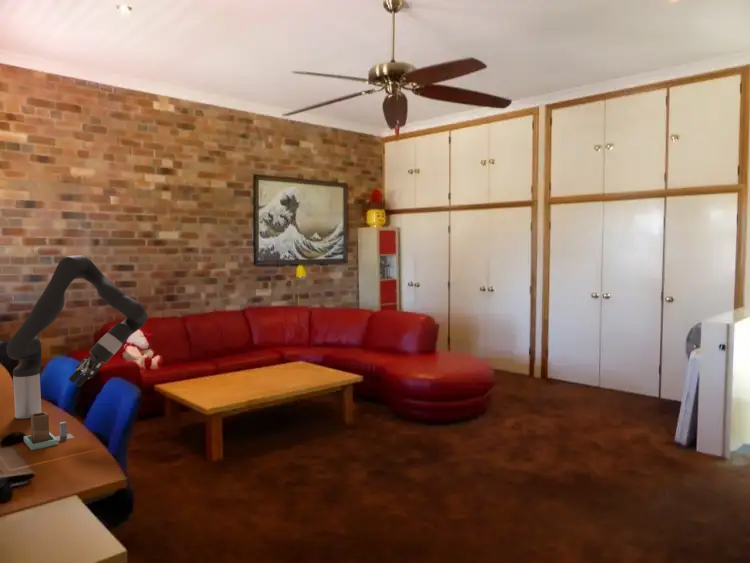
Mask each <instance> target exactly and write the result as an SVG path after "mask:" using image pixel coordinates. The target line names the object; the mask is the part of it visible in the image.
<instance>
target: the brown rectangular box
mask: <svg viewBox="0 0 750 563" xmlns="http://www.w3.org/2000/svg"><path fill="white" fill-rule="evenodd" d="M30 416H31V418H30V432H31V433H30V435H31V438H32V443H33V444H36V443H40V442H45V441H50V438H49V432H50V422H49V419H50V417H49V414H48V413H47V411H41V413H36V414H30Z"/></svg>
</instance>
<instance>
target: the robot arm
mask: <svg viewBox="0 0 750 563" xmlns="http://www.w3.org/2000/svg"><path fill="white" fill-rule="evenodd" d="M79 279H84V280H86V281H87V282H88V283H91V284H92V286H94V288H95V289H96V290H97V293H98V295H99V297H100V298H101V299H102V300H103V302H105V303H106V304H108V305H109V306H110V307H112V308H113V309H114V310H116V311H117V312H118V311H119V312H120V313H121V314H122V315H123V316H124V317H126V318H125V319H123V321H122V322H117V323H115V324H114V325H112V327H111V328H110V329H109V330H108V331H107V332H106V333H105V334H104V335H103V336H102V337H100V338H99V340H98V341H97V342H96V343H95V344H94V345H93V346H92V347H91V348H90V350H89V351H88V353H89V354H90V356H88V355H86V356H84V358H83V359H82V360H81V361H80V362H79V363H78V364H77V365H76V366H75V368H74V369H75V371H74V372H73V373H72V374H71V375H70V377H68V381H69V382H71V383H74V384H75V385H76V386H77V387H79V388H81V387H82V386H83V385H84V383H86V382H87V380H89V379H93V378H94V376H96V374H97V373H98V372H99V371H100V370H101V368H103V367H104V365H103V364H107V363H108V362H109V361H110V360H111V359H112V358H113V357H114V355H115V354H116V353H117V352H118V351H119V350H120V349H121V347H122V346H123V344H124V343H125V342H126V341H127V340H128V339H129V338H130V337H131V335H133V334H134V333H136V332H137V331H138V330H139V329H141V328H142V327H143V326H144V325H145V324H146V322H147V320H148V318H149V317H148V312H147V311H146V308H145V307H144V306H143V305H142V304H141V303H140V302H138V301H137V300H135V299H133V298H132V297H130V296H128V294H126V293H125V292H124V291H123V290H121V289H120V288H119V287H117V286H116V284H114V283H113V282H112V281H110V280H109V278H107V276H105V275H104V274H103V272H102V271H101V270H100V269H99V268H98V267H97V265H96V264H95V263H94V262H93V261H92V260H91V259H90V258H89V257H87V256H85V255H81V254H79V255H67V256H64V257H63V258H61V259H60V261H59V262H58V264H57V266H56V267H55V270H54V272H53V274H52V275H51V278H50V280H49V282H48V284H47V285H46V287H45V288H44V289H43V290H44V291H43V292H42V293H41V295H40V296H39V298H37V301H36V303H35V304H34V305H33V307H32V310H31V311H30V312H29V314H28V315H27V317H26V318H25V320H24V322H23V323H22V324H21V326H20V327H19V328H18V330H17V331H16V332H15V333H14V335H12V337H11V338H10V339H9V341H8V343H7V345H6V354H7V356H8V358H9V359H10V360H15V361H18V360H19V361H20V360H21V361H20V363H19V364H18V365H17V366H16V367H14V368H13V370H12V377H13V378H12V379H13V380H12V382H13V395H14V396H13V398H14V417H15V419H17V420H18V419H19V420H20V419H21V420H22V419H31V416H30V414H36V413H41V412H42V399H41V397H42V396H41V395H42V394H41V393H42V392H41V377H40V376H41V375H40V374H41V373H40V369H41V367H42V342H41V340H40V339H39V337H38V335H39V334H40V333H41V332H42V331H44V330H45V329H47V328H48V327H49V326H50V325H51V324H52V323H54V322H55V321H56V319H57V318H58V316H59V315H60V313H61V312H62V310H63V308H64V306H65V301H66V299H65V294H66V291H67V289H68V287H69V286H70V285H71V283H72V282H73V281H74V280H79ZM102 363H103V364H102Z"/></svg>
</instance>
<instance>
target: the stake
mask: <svg viewBox="0 0 750 563" xmlns="http://www.w3.org/2000/svg"><path fill="white" fill-rule="evenodd" d="M67 428H68V427H67V422H66V421H61V422H59V435H56V436H54V437H55V438H56V439H58V442H60V441H65V440H69V439H73V438H74V439H75V436H74V435H72V434H71V433H67V432H68V431H67V430H68V429H67Z"/></svg>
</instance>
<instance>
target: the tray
mask: <svg viewBox="0 0 750 563" xmlns="http://www.w3.org/2000/svg"><path fill="white" fill-rule="evenodd" d="M55 437H56V436H55V435H53V433H51V432H50V431H49V438H50V441H45V442H40V443H36V444H33V443H32V438H31V434H29V435H24V436H23V443H25V445H26V446H27V447H28V449H29V450H30V451H36V450H39V449H44V448H48V447H54V446H58V443H59V441H58V439H56V438H55Z"/></svg>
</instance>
